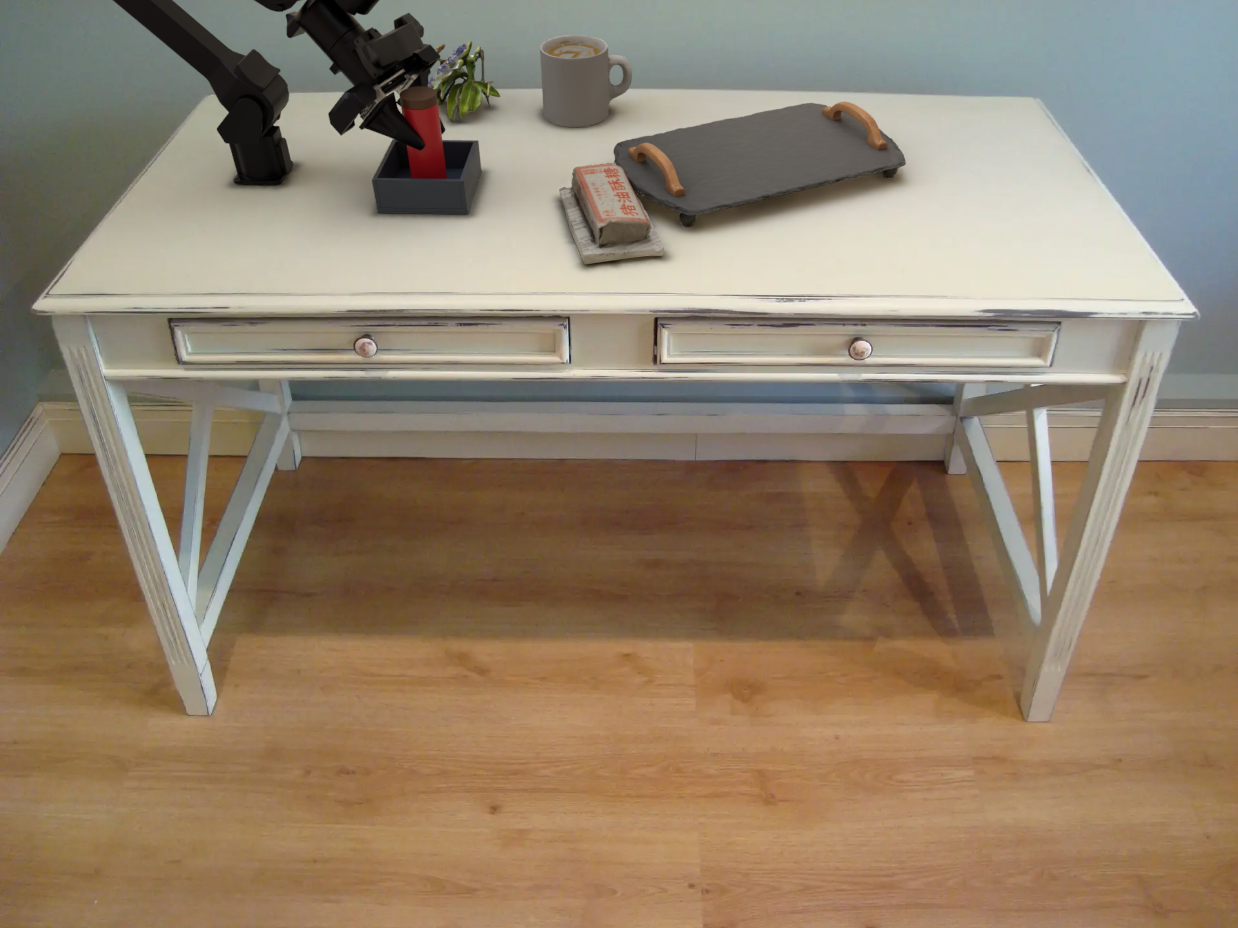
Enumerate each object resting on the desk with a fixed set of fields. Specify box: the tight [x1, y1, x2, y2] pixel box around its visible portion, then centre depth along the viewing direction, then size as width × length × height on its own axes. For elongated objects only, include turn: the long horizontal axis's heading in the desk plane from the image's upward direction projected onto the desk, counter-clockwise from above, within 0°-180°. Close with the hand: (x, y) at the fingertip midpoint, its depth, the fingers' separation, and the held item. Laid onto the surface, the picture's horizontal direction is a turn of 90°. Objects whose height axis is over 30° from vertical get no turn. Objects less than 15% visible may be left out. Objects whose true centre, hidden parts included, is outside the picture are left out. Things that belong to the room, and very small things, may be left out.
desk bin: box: [371, 139, 482, 215], centre depth 135 cm, size 12×12×5 cm
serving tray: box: [613, 101, 907, 228], centre depth 138 cm, size 39×23×6 cm, turn 115°
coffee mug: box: [539, 34, 633, 128], centre depth 152 cm, size 13×10×10 cm
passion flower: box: [428, 40, 501, 123], centre depth 155 cm, size 11×11×12 cm
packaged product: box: [558, 162, 665, 265], centre depth 127 cm, size 18×5×10 cm
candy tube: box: [398, 86, 447, 179], centre depth 131 cm, size 5×5×12 cm
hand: (433, 140), depth 131 cm, fingers closed on candy tube, 5 cm apart
